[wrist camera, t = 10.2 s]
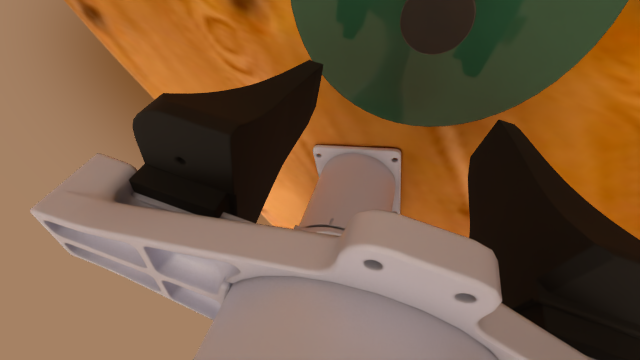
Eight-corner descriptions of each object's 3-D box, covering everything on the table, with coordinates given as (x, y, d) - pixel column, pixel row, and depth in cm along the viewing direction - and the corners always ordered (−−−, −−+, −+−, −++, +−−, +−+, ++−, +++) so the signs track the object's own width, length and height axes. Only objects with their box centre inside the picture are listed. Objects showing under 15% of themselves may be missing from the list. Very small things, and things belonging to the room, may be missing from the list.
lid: (566, 118, 16) (593, 178, 13) (320, 114, 20) (297, 159, 17) (787, -395, 7) (1053, -600, 4) (260, -205, 11) (188, -231, 8)
